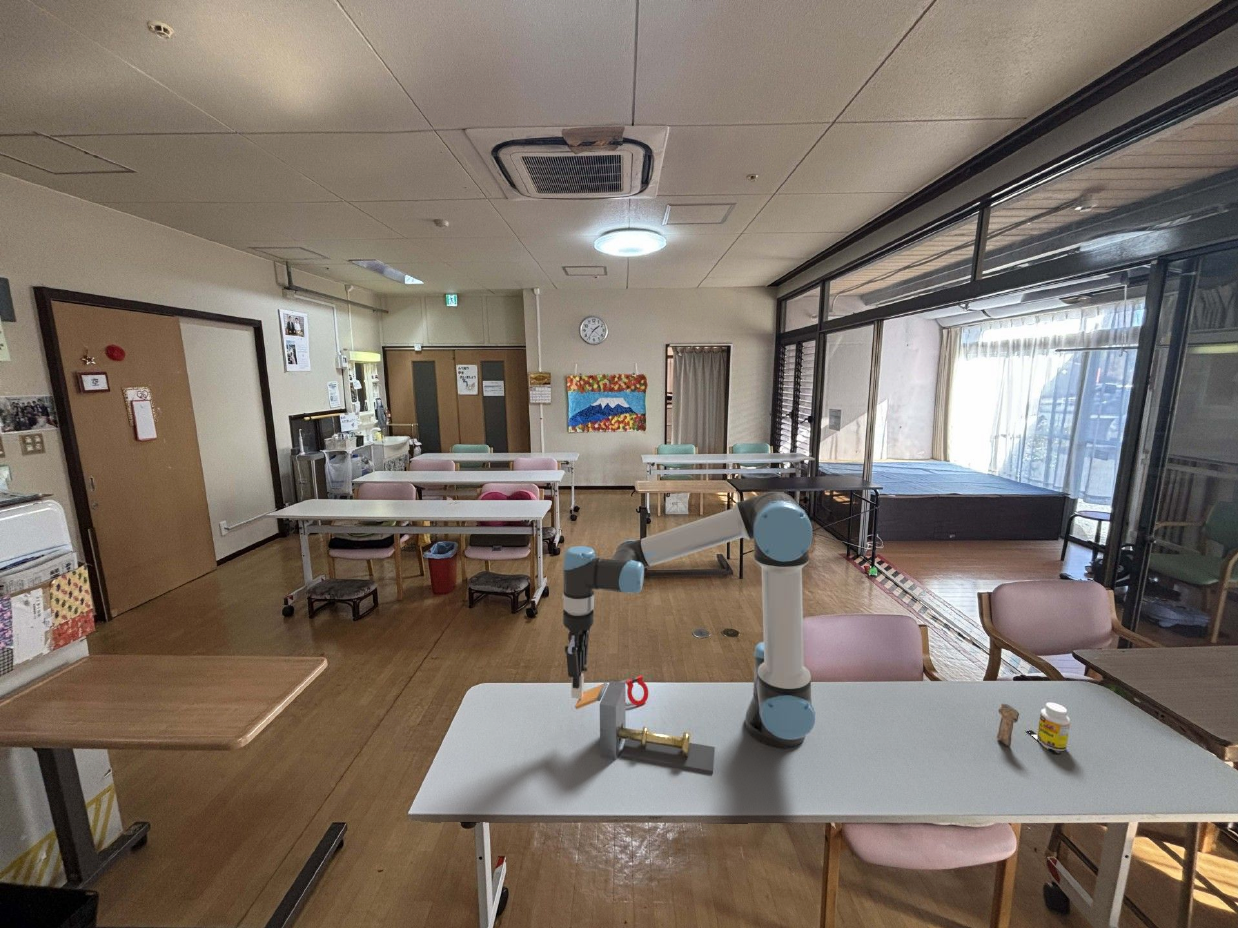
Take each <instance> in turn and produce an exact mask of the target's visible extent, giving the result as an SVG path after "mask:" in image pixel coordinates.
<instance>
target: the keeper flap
mask: <svg viewBox="0 0 1238 928" xmlns="http://www.w3.org/2000/svg"><path fill="white" fill-rule="evenodd" d="M608 685H609V683H607V682H604V683H602V684H600V685H597V686H595V687H593V688H590V689H587V690H585V691H583V698H582V699H577V701H576V703H575V705H574V708H575V709H576V710H578V709H581V708H583V707H586V706H589V705H591V704H593V703H597V702H601V700H602V698H603V696H604V694H605V692H606V689H607V687H608Z"/></svg>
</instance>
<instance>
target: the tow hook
mask: <svg viewBox="0 0 1238 928" xmlns="http://www.w3.org/2000/svg"><path fill="white" fill-rule="evenodd" d="M643 679H644V677H643V675H637V676H634V677H631V678H627V679H623V680H620V681H619V682H623V683H625V685H626V687H627V693H626V694H627V695H626V696H627V698H628V700H629V702H630V703H631V704H633V705H635V706H642V705H644V704H645V703H646V702H647V700H648V697H649V689H648V686H647V684H646V683H645V681H643ZM634 683H637V684H638V685H640V686H641V687H642V690H643V696H642V698H641V699H640V700H637V699H636V698H634V696H633V694H632V693H633V692H632V691H633V688H634Z"/></svg>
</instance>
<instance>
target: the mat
mask: <svg viewBox="0 0 1238 928" xmlns="http://www.w3.org/2000/svg"><path fill="white" fill-rule="evenodd" d="M715 749H716V747H715V746H711V745H705V744H700V743H693V742H690V749H689V756H685V755H682V749H681V748H675V747H669V746H663V745H657V744H651V743H647V747H642V746H641V742H640V741H634V740H628V739H625V742H624V745H623V748H622V751H621V754H620V758H622V759H627V760H633V761H638V762H639V761H640V762H644V763H650V764H655V765H660V766H661V765H662V766H667V767H673V768H677V769H684V770H689V771H694V772H700V773H706V774H710V775H713V773H714V764H715V763H714V762H715V752H716V751H715Z"/></svg>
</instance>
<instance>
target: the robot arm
mask: <svg viewBox="0 0 1238 928" xmlns="http://www.w3.org/2000/svg"><path fill="white" fill-rule="evenodd" d="M742 538H744V539H746V540H750V541H751V540H753V555H754V557H753V559H754V562H755V563H756V564H758V565H759V566H760V567H761V590H762V591H761V594H762V595H761V597H762V599H761V601H762V626H763V627H762V628H763V629H762V632H763V633H762V634H763V641H760V642H758V643H757V644H756V646H755V647H754V648H755V649H754V653H753V657H754V663H753V664H754V665H753V667H754V668H753V688H752V691H753V693H752V695H753V696H752V698H751V701H750V703H749V705H748V708H747V709H746V712H745V727H746V729H747V731H748V733H749V734H750V735H751V736H752V737H753V738H755V739H756V740H757V741H759V742H761V743H762V744H765V745H768V746H771V747H773V748H774V747H775V748H781V749H782V748H783V749H784V748H785V749H786V748H794V747H795V746H798V745H800V744H801V743H803V741H804V740H805V738H806V735H808V734H810V733H811V731H812V730H813V729H814V726H815V724H816V711H815V708H814V706H813V702H812V675H811V672H810V670H809V669H808V668H807V667H806V666H804V665H805V664H804V625H803V623H804V621H803V620H804V619H803V618H804V617H803V615H804V614H803V568H804V567H805V566H806V565H807V564H809V562H810V561H809V560H810V550H809V549H810V546H811V544H812V541H813V527H812V522H811V520H810V518H809V516H808V514H807V513H806V511H804V509H803V508H802V507H801V506H800V505H799V503H798V502H797V500H796V499H795V498H793V497H792V496H791V495H789V494H787V493H785V492H781V491H768V492H764V493H761V494H759V495H756V496H753V497H750V498H747V499H744V500H741V501H739V502H735V504H734V507H732V508H731V509H727V510H725V511H720V512H718V513H716V514H712V515H709V516H707V517H704V518H701V519H697V520H695V521H692V522H688V523H685V524H682V525H680V526H675V527H673V528H670V529H666V530H663V531H662V532H658V533H655V534H653V535H649V536H646V537H644V538H643V537H642V538H641V539H636V540H635V539H627V540H624V541H622V543H620V544H619V545H618V547H616V550H615V552H614V554H613V555H612V557H611V558H601V557H596V554H595V550H594V549H593V548H592V547H588V546H584V545H576V546H572V547H569V548H568V549H566V550H565V552H564V555H563V566H562V572H563V573H562V574H563V575H562V576H563V591H562V592H563V594H562V595H561V598H562V599H563V603H562V604H563V606H562V607H563V610H562V614H563V615H562V624H563V626H564V627H565V629H566V628H567V630H568V631H569V632H568V634H567V640H568V645H565V647H564V652H565V655H566V657H565V658H566V665H567V667H566V668H567V677H568V678H571V698H574V699H577V700H579V699H582V698H583V692H584V689H585V688H584V685H585V682H584V679H585V676H584V674H585V673H584V672H587V671H588V667H585V666H586V665H587V663H588V652H589V651H588V649H589V640H590V639H589V638H590V633H591V632H590V630H591V627H592V626H593V625H594V617H595V615H594V608H595V603H594V602H595V590H601V591H608V592H616V593H622V594H623V593H624V594H639V593H641V591H642V589H643V587H644V585H643V584H644V579H645V569H647V568H650V567H653V566H655V565H659V564H662V563H665V562H669V561H672V560H674V559H678V558H681V557H684V556H688V555H691V554H694V553H697V552H701V551H704V550H707V549H710V548H713V547H716V546H720V545H723V544H727V543H730V542H733V541H737V540H739V539H742Z"/></svg>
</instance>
